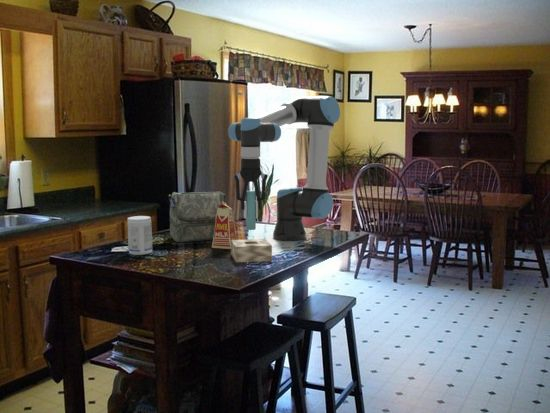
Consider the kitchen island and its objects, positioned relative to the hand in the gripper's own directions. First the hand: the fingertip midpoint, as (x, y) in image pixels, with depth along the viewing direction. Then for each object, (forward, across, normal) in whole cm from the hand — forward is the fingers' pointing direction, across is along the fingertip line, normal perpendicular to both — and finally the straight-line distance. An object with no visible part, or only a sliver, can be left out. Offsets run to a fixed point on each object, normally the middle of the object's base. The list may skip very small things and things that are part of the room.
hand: (250, 217), depth 243 cm
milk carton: (+16, +8, -25) cm, 30 cm away
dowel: (+5, 0, 0) cm, 5 cm away
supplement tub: (+16, +43, -18) cm, 49 cm away
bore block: (+16, 0, 0) cm, 16 cm away
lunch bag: (+16, +18, -45) cm, 51 cm away
